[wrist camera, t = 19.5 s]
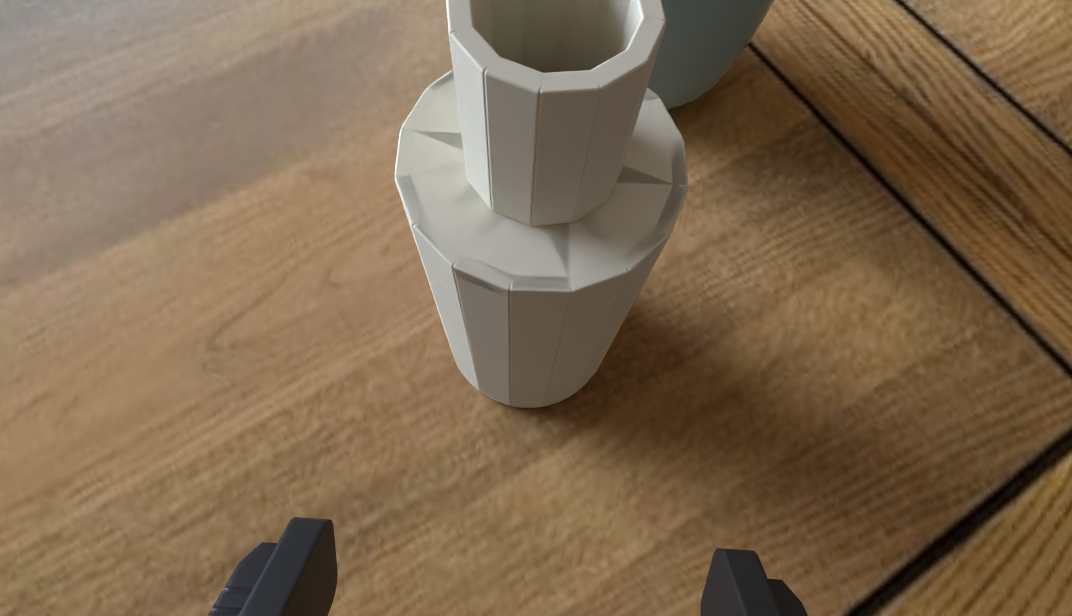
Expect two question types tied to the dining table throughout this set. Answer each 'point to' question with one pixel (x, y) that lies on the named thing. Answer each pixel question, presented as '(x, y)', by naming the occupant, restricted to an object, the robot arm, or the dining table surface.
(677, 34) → the cup
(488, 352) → the white faceted vase
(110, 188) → the dining table surface
